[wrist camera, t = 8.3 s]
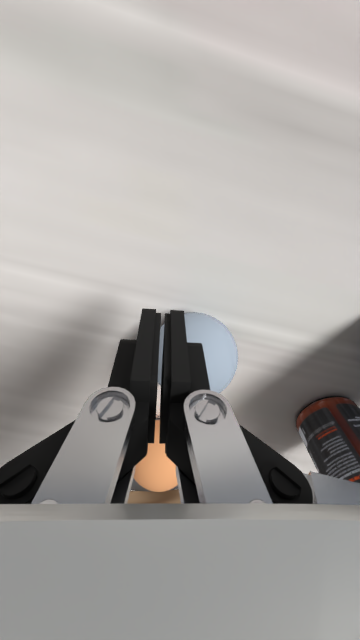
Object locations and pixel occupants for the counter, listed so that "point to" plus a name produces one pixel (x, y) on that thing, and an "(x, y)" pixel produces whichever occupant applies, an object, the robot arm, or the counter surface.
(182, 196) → the counter surface
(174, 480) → the orange ball
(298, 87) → the counter surface
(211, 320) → the light blue ball
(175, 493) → the rail
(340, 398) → the supplement bottle
